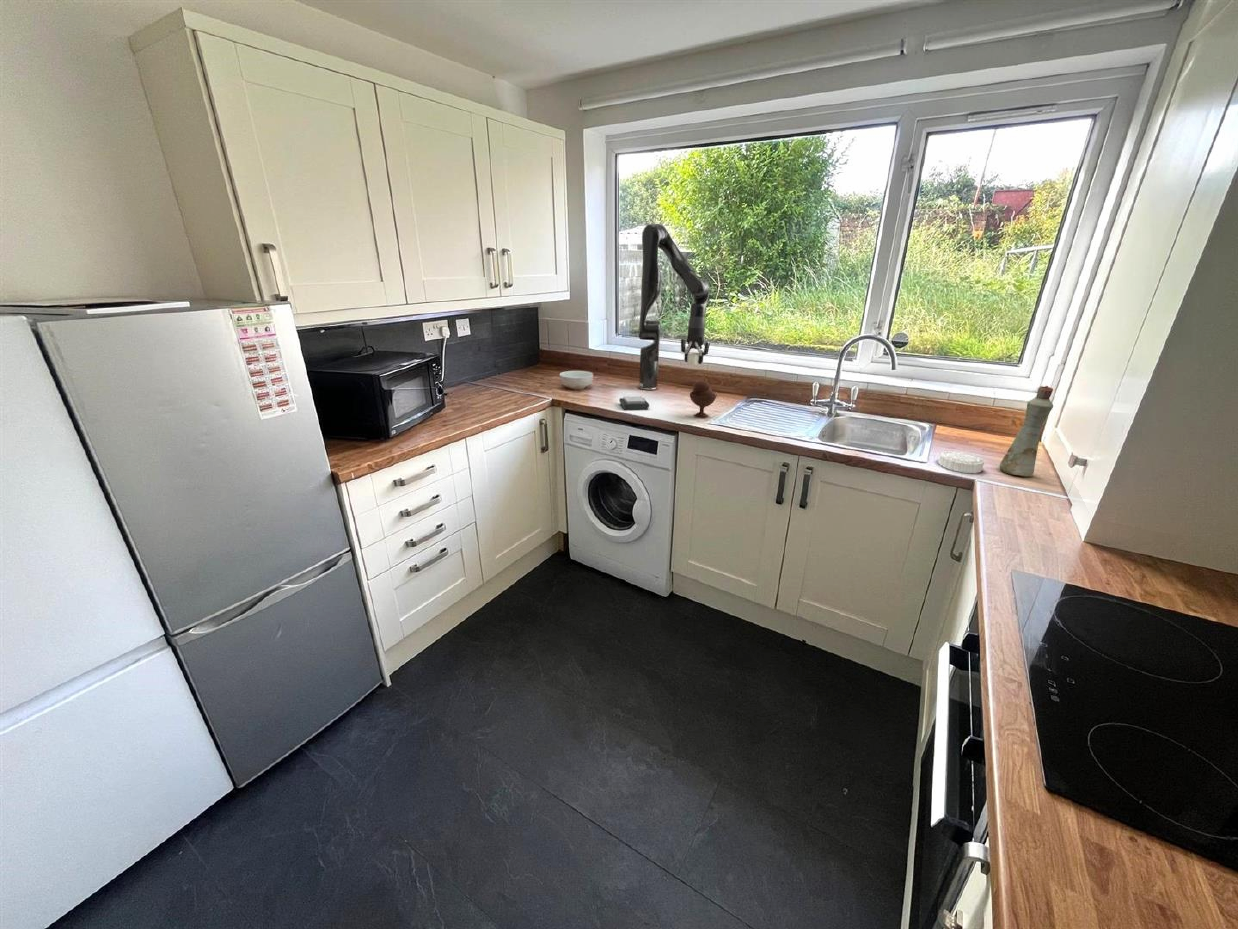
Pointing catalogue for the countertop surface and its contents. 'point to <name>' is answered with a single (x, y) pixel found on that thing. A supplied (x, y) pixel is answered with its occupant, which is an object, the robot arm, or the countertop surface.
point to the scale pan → (634, 400)
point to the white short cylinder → (693, 358)
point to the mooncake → (961, 462)
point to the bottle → (1028, 436)
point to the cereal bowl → (576, 379)
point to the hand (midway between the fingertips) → (693, 362)
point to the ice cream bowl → (702, 397)
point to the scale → (634, 405)
